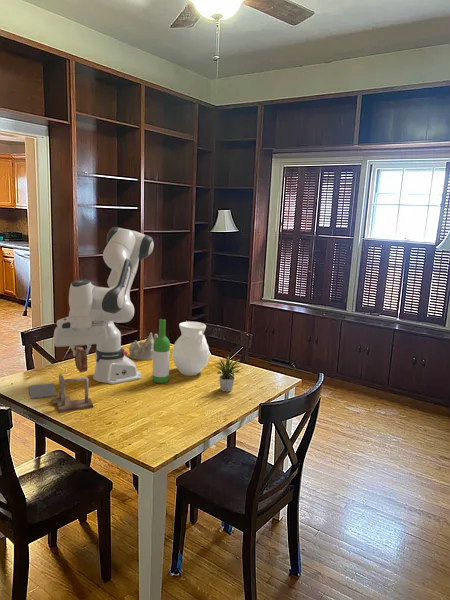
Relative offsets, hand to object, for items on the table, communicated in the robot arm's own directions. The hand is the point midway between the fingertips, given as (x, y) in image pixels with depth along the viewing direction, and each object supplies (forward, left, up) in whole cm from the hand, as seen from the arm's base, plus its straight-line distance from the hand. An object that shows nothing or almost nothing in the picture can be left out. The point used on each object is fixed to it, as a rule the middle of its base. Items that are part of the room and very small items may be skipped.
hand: (80, 355), depth 179 cm
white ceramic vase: (-57, -23, -22) cm, 65 cm away
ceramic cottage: (-44, -55, -22) cm, 74 cm away
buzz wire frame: (+3, -2, -21) cm, 22 cm away
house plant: (-63, +5, -22) cm, 67 cm away
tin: (0, 0, -6) cm, 6 cm away
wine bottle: (-39, -16, -22) cm, 48 cm away
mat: (+13, -20, -21) cm, 32 cm away
